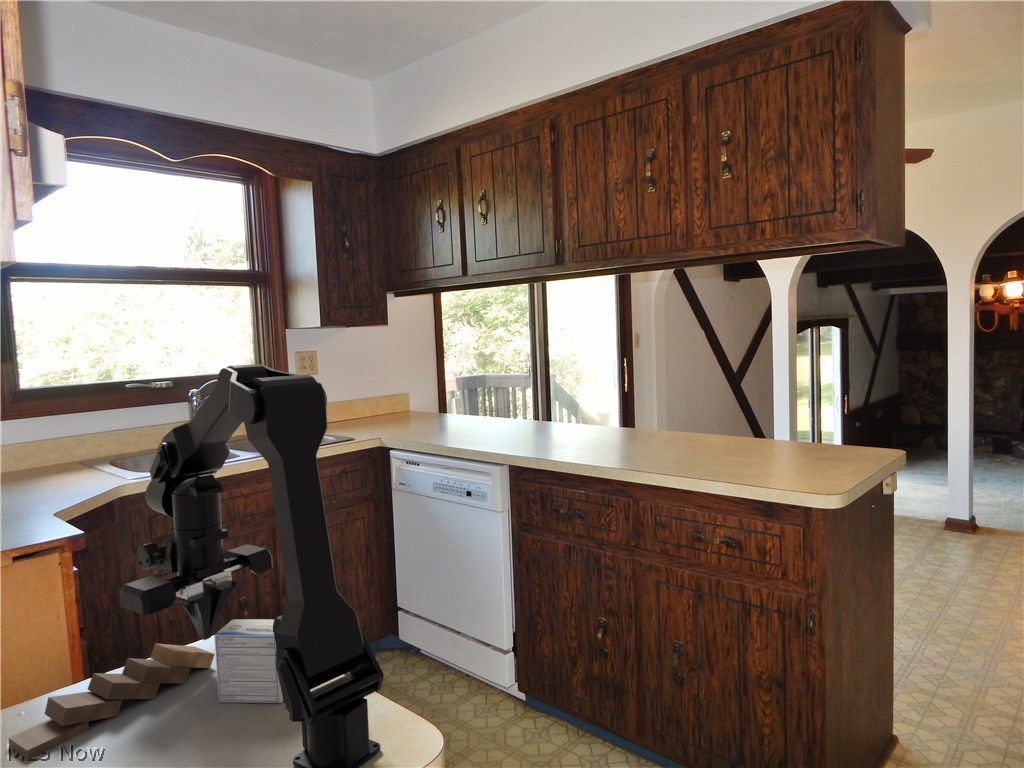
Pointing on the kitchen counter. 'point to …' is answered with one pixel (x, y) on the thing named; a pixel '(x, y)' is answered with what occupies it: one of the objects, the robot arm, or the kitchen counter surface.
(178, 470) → the robot arm
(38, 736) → the domino
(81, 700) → the domino
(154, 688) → the domino
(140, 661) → the domino
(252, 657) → the medicine box
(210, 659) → the domino
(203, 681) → the kitchen counter surface
